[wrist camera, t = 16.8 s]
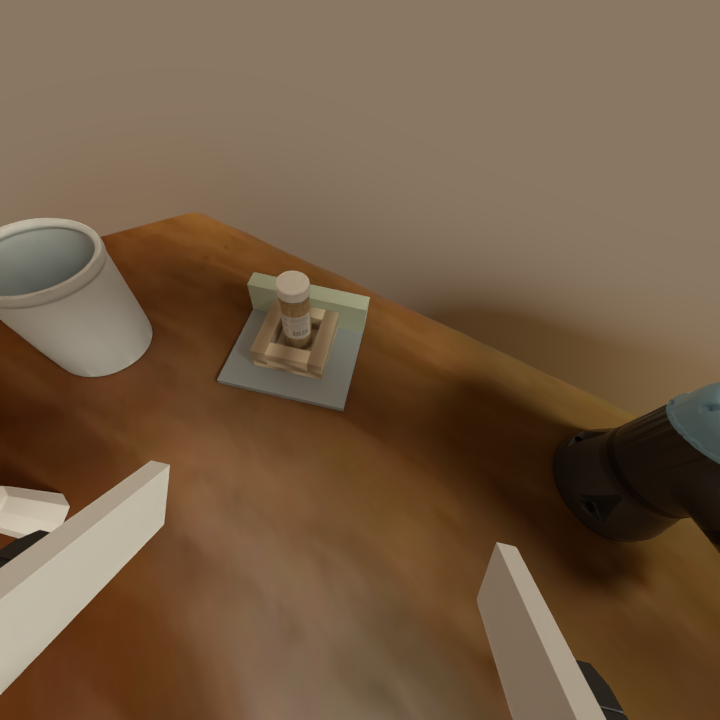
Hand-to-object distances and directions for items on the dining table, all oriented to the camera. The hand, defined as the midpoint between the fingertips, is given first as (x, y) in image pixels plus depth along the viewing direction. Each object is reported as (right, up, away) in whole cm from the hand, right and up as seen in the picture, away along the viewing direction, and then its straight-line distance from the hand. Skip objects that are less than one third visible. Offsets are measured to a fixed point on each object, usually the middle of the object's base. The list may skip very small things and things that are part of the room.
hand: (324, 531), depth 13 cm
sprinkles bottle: (-9, +10, +42) cm, 44 cm away
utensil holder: (-40, +10, +41) cm, 58 cm away
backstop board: (-9, +8, +43) cm, 45 cm away
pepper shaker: (-37, -12, +27) cm, 47 cm away
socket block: (-9, +9, +43) cm, 45 cm away
